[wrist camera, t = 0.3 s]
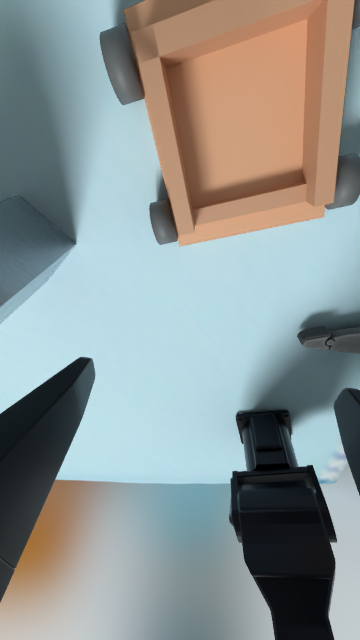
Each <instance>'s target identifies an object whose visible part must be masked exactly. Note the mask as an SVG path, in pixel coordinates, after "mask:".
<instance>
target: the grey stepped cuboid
mask: <svg viewBox="0 0 360 640" xmlns="http://www.w3.org/2000/svg"><path fill="white" fill-rule="evenodd" d="M75 245H76V244H75V243H74V242H73V241H72V240H71V239H70V238H68V237H67V236H66V235H65V234H64V233H63V232H61V231H60V230H59V229H58V228H57V227H56V226H54V225H53V224H52V223H51V222H50V221H48V220H47V219H46V218H45V217H44V216H43V215H41V214H40V213H39V212H38V211H37V210H36V209H34V208H33V207H32V206H31V205H30V204H29V203H27V202H26V201H25V200H24V199H23V198H22V197H20V196H19V195H18V196H15V197H12V198H9V199H6V200H2V201H0V324H1V323H2V322H3V321H4V320H5V319H6V318H7V317H8V316H9V315H10V314H12V313H13V312H14V311H15V310H16V309H17V308H18V307H19V306H20V305H21V304H23V303H24V302H25V301H26V300H27V299H28V298H29V297H30V296H31V295H32V294H33V293H35V292H36V291H37V290H38V289H39V288H40V287H41V286H42V285H43V284H44V283H46V282H47V281H48V279H49V278H50V277H51V276H52V274H53V273H54V272H55V270H56V269H57V268H58V267H59V265H60V264H61V263H62V262H63V260H64V259H65V258H66V256H67V255H68V254H69V253H70V251H71V250H72V249H73V248H74V246H75Z"/></svg>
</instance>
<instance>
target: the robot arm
mask: <svg viewBox="0 0 360 640" xmlns="http://www.w3.org/2000/svg"><path fill="white" fill-rule="evenodd" d="M94 380H95V369H94V364H93V360H92V358H88V357H80V358H78V359H77V360H75V361H74V362H72V363H71V364H70V365H68V366H67V367H65V368H64V369H63V370H61V371H60V372H58V373H57V374H56V375H54V376H53V377H51V378H50V379H48V380H47V381H46V382H44V383H43V384H41V385H40V386H39V387H37V388H36V389H34V390H33V391H32V392H30V393H29V394H27V395H26V396H25V397H23V398H22V399H20V400H19V401H18V402H16V403H15V404H13V405H12V406H11V407H9V408H8V409H6V410H5V411H3V412H2V413H1V414H0V602H1V600H2V598H3V595H4V593H5V591H6V589H7V586H8V584H9V582H10V580H11V577H12V575H13V573H14V570H15V569H14V568H16V566H17V563H18V561H19V559H20V557H21V555H22V552H23V550H24V548H25V546H26V543H27V541H28V539H29V537H30V534H31V532H32V530H33V528H34V525H35V523H36V521H37V519H38V517H39V514H40V512H41V510H42V508H43V505H44V503H45V501H46V498H47V496H48V494H49V492H50V490H51V487H52V485H53V483H54V480H55V478H56V476H57V474H58V472H59V469H60V467H61V465H62V463H63V461H64V458H65V456H66V454H67V452H68V449H69V447H70V445H71V443H72V440H73V438H74V436H75V434H76V431H77V429H78V427H79V425H80V422H81V420H82V417H83V414H84V411H85V408H86V405H87V402H88V399H89V396H90V393H91V389H92V386H93V383H94ZM334 411H335V415H336V419H337V423H338V428H339V432H340V436H341V440H342V444H343V448H344V452H345V455H346V458H347V461H348V464H349V466H350V469H351V472H352V475H353V478H354V480H355V484H356V486H357V489H358V492H359V495H360V390H358V389H353V388H345V389H343V390H342V392H341V393H340V395H339V396H338V398H337V399H336V401H335V402H334ZM236 422H237V426H238V430H239V434H240V438H241V442H242V444H244V451H245V459H246V467H247V471H241V472H238V471H233V478H231V505H230V514H229V520H230V523H231V524H232V525H233V527H234V529H235V532H236V535H237V539H238V541H239V542H240V543H242V545H243V553H244V559H245V563H246V565H247V567H248V569H249V571H250V573H251V575H252V576H253V578H254V580H255V582H256V584H257V586H258V587H259V589H260V591H261V593H262V595H263V597H264V599H265V601H266V602H267V604H268V606H269V608H270V610H271V615H272V621H273V628H274V635H275V640H334V637H333V633H332V629H331V625H330V621H329V611H330V604H331V597H332V592H333V585H334V579H335V558H334V554H333V551H332V548H331V544H330V542H337V538H336V534H335V530H334V526H333V523H332V520H331V516H330V513H329V510H328V507H327V504H326V501H325V498H324V496H323V493H322V490H321V487H320V485H319V482H318V479H317V476H316V474H315V471H314V468H313V465H307V466H306V467H298V463H297V460H296V456H295V453H294V449H293V446H292V442H291V421H290V413H289V411H286V410H285V411H273V412H261V413H249V414H239V415H236Z"/></svg>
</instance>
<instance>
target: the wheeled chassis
mask: <svg viewBox="0 0 360 640" xmlns="http://www.w3.org/2000/svg"><path fill="white" fill-rule="evenodd" d="M124 14H125V19H126V23H127V26H126V24H125V23H123V24H121V25H118V26H116V27H113V28H111V29H108V30H106V31H103V32H101V33H100V45H101V50H102V55H103V59H104V62H105V66H106V69H107V72H108V76H109V78H110V81H111V84H112V86H113V89H114V91H115V93H116V96H117V98H118V99H119V101H120V103H121V104H122V105H126V104H129V103H132V102H135V101H138V100H141V99H144V98H145V102H146V106H147V111H148V115H149V119H150V123H151V127H152V132H153V136H154V140H155V144H156V148H157V153H158V157H159V161H160V165H161V169H162V174H163V178H164V182H165V186H166V190H167V194H168V199H165V200H161V201H157V202H153V203H150V219H151V224H152V228H153V232H154V235H155V237H156V240H157V242H158V243H159V244H160V245H162V244H166V243H171V242H176V241H177V240H178V241H179V245H180V246H184V245H189V244H194V243H198V242H203V241H208V240H213V239H218V238H223V237H228V236H233V235H238V234H243V233H247V232H252V231H257V230H262V229H267V228H272V227H277V226H282V225H287V224H292V223H296V222H301V221H306V220H311V219H316V218H321V217H324V210H325V208H326V209H334V208H339V207H344V206H348V205H352V204H354V203H355V202H356V200H357V199H358V197H359V195H360V158H359V156H358V155H357V154H349V155H345V156H341V157H338V155H339V145H340V135H341V126H342V116H343V106H344V97H345V87H346V77H347V68H348V58H349V48H350V39H351V29H354V28H357V27H360V0H145V1H143V2H140V3H138V4H136V5H133V6H131V7H128V8H126V9H124ZM127 27H128V28H127Z"/></svg>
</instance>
